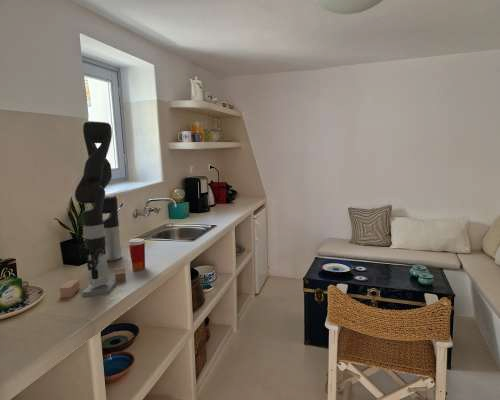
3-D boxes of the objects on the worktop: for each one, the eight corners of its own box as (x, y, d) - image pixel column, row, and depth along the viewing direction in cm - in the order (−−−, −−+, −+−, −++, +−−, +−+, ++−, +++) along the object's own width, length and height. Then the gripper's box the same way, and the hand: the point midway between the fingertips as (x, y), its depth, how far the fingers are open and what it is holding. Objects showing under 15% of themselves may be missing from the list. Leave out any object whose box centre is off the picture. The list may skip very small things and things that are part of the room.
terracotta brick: (69, 289, 140) (68, 280, 139) (80, 289, 140) (79, 279, 140) (60, 298, 132) (59, 288, 131) (71, 297, 132) (70, 287, 132)
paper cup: (139, 265, 167) (137, 237, 165) (150, 267, 163) (148, 239, 161) (126, 270, 160) (124, 241, 158) (137, 272, 156) (135, 243, 154)
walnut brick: (115, 277, 152) (114, 268, 152) (125, 275, 154) (124, 267, 153) (116, 283, 145) (115, 274, 144) (125, 281, 147) (125, 272, 146)
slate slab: (91, 287, 143) (91, 282, 142) (116, 285, 144) (116, 280, 143) (82, 297, 133) (82, 292, 133) (109, 295, 134) (108, 290, 134)
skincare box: (104, 280, 142) (101, 252, 140) (109, 283, 139) (106, 254, 137) (89, 285, 137) (86, 256, 135) (94, 287, 134) (91, 258, 133)
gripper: (91, 231, 142) (95, 269, 144) (77, 240, 128) (81, 282, 130) (110, 230, 142) (113, 268, 145) (97, 239, 128) (102, 281, 131)
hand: (98, 275), depth 137 cm, fingers closed on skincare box, 7 cm apart
